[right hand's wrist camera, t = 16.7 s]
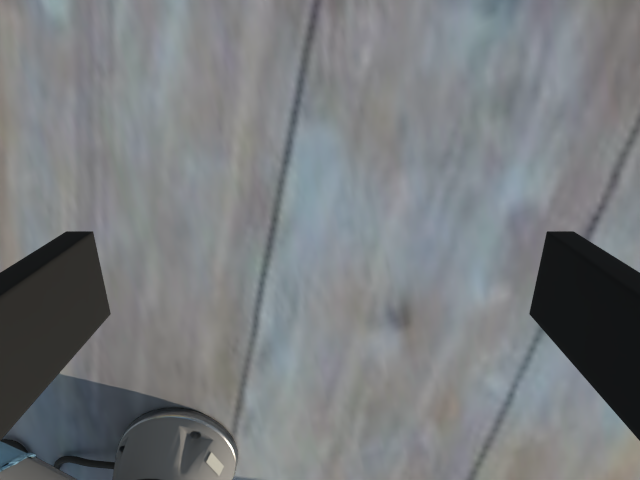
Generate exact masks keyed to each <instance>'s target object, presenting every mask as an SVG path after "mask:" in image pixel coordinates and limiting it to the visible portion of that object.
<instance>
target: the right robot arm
mask: <svg viewBox="0 0 640 480" xmlns="http://www.w3.org/2000/svg"><path fill="white" fill-rule="evenodd" d="M109 315H110V309H109V304H108V300H107V295H106V290H105V286H104V281H103V276H102V272H101V267H100V262H99V257H98V253H97V248H96V243H95V239H94V234H93V232H65V233H63V234H62V235H60V236H59V237H57V238H55V239H54V240H52V241H51V242H49V243H47V244H46V245H44V246H43V247H41V248H39V249H38V250H36V251H35V252H33V253H31V254H30V255H28V256H27V257H25V258H23V259H22V260H20V261H18V262H17V263H15V264H14V265H12V266H10V267H9V268H7V269H6V270H4V271H2V272H1V273H0V480H77V479H75V478H73V477H71V476H70V475H68V474H66V473H64V472H62V471H60V470H59V468H60V466H61V464H62V463H67V462H70V463H75V464H79V465H83V466H89V467H97V468H108V469H114V473H113V480H232V479H233V477H234V474H235V470H236V466H237V460H238V451H237V447H236V444H235V441H234V440H233V438H232V436H231V435H230V433H229V432H228V431H227V430H226V429H225V428H224V427H223V426H222V425H221V424H220V423H218V422H217V421H215V420H214V419H212V418H210V417H209V416H206V415H204V414H202V413H199V412H196V411H192V410H188V409H181V408H165V409H158V410H154V411H151V412H148V413H146V414H144V415H142V416H140V417H138V418H137V419H136V420H134V421H133V422H132V423H131V424H130V426H129V427H128V428H127V430H126V431H125V433H124V435H123V437H122V439H121V441H120V443H119V446H118V449H117V453H116V460H115V462H104V461H94V460H88V459H84V458H80V457H75V456H64V457H61V458H59V459H58V460H57V461H56V462H55V464H54V467H53V466H51V465H49V464H48V463H46V462H44V461H42V460H40V459H38V458H36V455H35V454H33V453H28V451H27V450H26V449H25V447H23V446H22V445H21V444H20V443H18V442H16V441H13V440H6V439H3V440H1V439H2V438H3V437H4V436H5V435H6V433H7V432H8V431H9V430H10V429H11V428H12V427H13V425H14V424H15V423H16V422H17V421H18V420H19V419H20V417H21V416H22V415H23V414H24V413H25V412H26V411H27V409H28V408H29V407H30V406H31V405H32V404H33V402H34V401H35V400H36V399H37V398H38V397H39V396H40V394H41V393H42V392H43V391H44V390H45V389H46V388H47V386H48V385H49V384H50V383H51V382H52V381H53V380H54V378H55V377H56V376H57V375H58V374H59V373H60V371H61V370H62V369H63V368H64V367H65V366H66V365H67V363H68V362H69V361H70V360H71V359H72V358H73V357H74V355H75V354H76V353H77V352H78V351H79V350H80V349H81V347H82V346H83V345H84V344H85V343H86V342H87V340H88V339H89V338H90V337H91V336H92V335H93V334H94V332H95V331H96V330H97V329H98V328H99V327H100V326H101V324H102V323H103V322H104V321H105V320H106V319H107V318H108V316H109ZM530 315H531V316H532V318H533V319H534V320H535V321H536V322H537V323H538V324H539V326H540V327H541V328H542V329H543V330H544V331H545V332H546V334H547V335H548V336H549V337H550V338H551V339H552V340H553V342H554V343H555V344H556V345H557V346H558V347H559V349H560V350H561V351H562V352H563V353H564V354H565V355H566V357H567V358H568V359H569V360H570V361H571V362H572V363H573V365H574V366H575V367H576V368H577V369H578V370H579V371H580V373H581V374H582V375H583V376H584V377H585V378H586V380H587V381H588V382H589V383H590V384H591V385H592V386H593V388H594V389H595V390H596V391H597V392H598V393H599V394H600V396H601V397H602V398H603V399H604V400H605V401H606V402H607V404H608V405H609V406H610V407H611V408H612V409H613V411H614V412H615V413H616V414H617V415H618V416H619V417H620V419H621V420H622V421H623V422H624V423H625V424H626V425H627V427H628V428H629V429H630V430H631V431H632V432H633V433H634V435H635V436H636V437H637V438H638V439H639V440H640V273H639V272H638V271H636V270H634V269H633V268H631V267H630V266H628V265H626V264H625V263H623V262H622V261H620V260H618V259H617V258H615V257H613V256H612V255H610V254H609V253H607V252H605V251H604V250H602V249H601V248H599V247H597V246H596V245H594V244H593V243H591V242H589V241H588V240H586V239H585V238H583V237H581V236H580V235H578V234H577V233H575V232H547V234H546V239H545V243H544V248H543V253H542V257H541V262H540V267H539V272H538V276H537V281H536V286H535V290H534V295H533V300H532V304H531V309H530Z"/></svg>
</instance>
